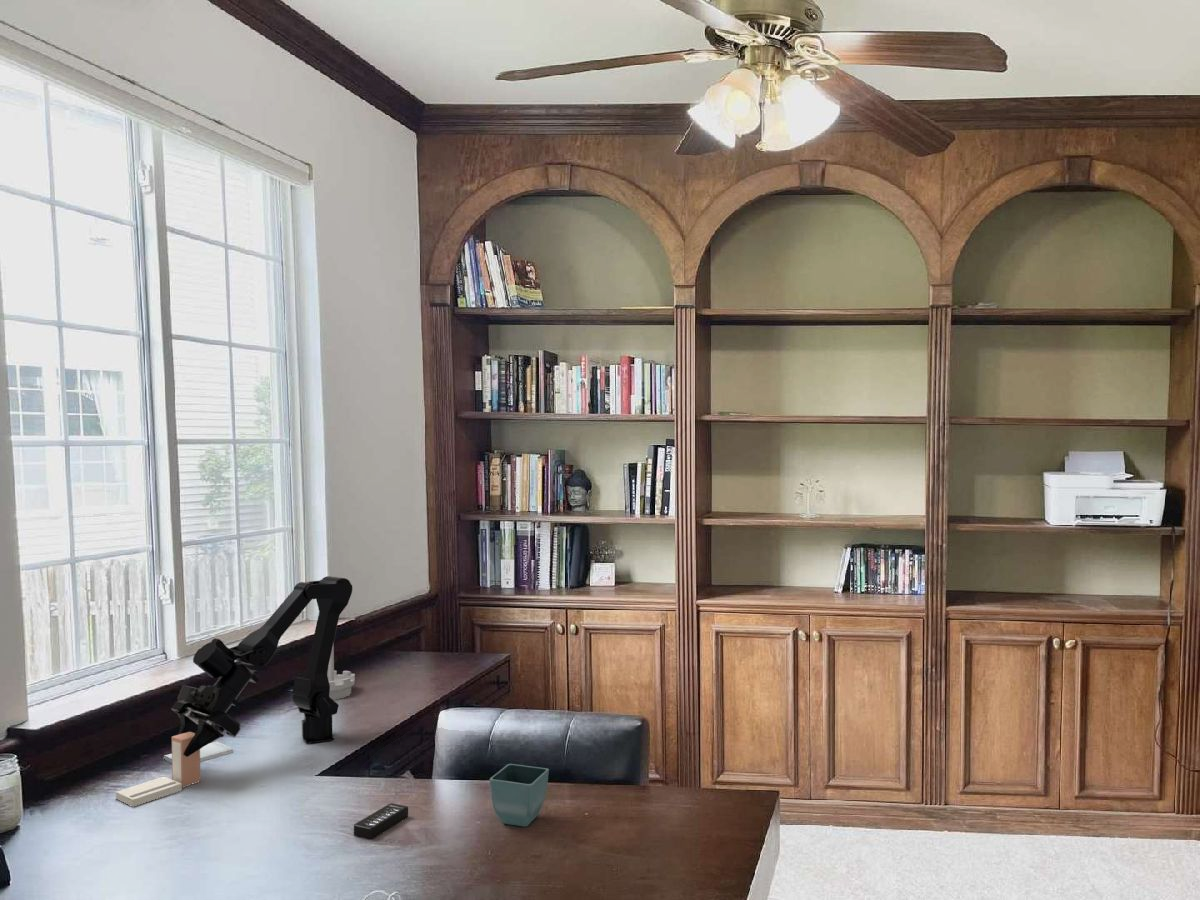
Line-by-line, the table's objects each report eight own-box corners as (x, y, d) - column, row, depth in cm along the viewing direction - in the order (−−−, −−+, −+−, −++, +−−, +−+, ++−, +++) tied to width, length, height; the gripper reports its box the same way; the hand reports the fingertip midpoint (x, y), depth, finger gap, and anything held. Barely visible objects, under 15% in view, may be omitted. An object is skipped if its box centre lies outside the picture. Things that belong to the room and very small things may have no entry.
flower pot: (550, 814, 171) (550, 767, 171) (532, 833, 163) (531, 784, 162) (509, 808, 174) (508, 763, 174) (488, 827, 165) (488, 779, 165)
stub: (190, 777, 192) (189, 731, 192) (200, 781, 190) (199, 734, 190) (171, 783, 189) (171, 736, 189) (182, 787, 186) (181, 740, 186)
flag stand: (320, 687, 262) (318, 586, 261) (362, 689, 260) (360, 586, 260) (299, 700, 249) (297, 594, 248) (343, 702, 247) (341, 594, 247)
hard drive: (179, 763, 198) (233, 747, 208) (163, 754, 203) (216, 740, 213) (179, 770, 198) (233, 754, 208) (163, 762, 203) (216, 747, 213)
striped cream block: (167, 782, 189) (166, 775, 189) (184, 789, 185) (184, 782, 185) (115, 799, 181) (115, 791, 181) (133, 807, 177) (132, 799, 177)
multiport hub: (352, 837, 163) (352, 824, 163) (390, 814, 173) (390, 802, 173) (371, 841, 161) (371, 828, 161) (409, 818, 171) (409, 806, 171)
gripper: (179, 663, 198) (129, 726, 189) (226, 675, 187) (176, 742, 178) (212, 690, 204) (166, 752, 195) (260, 703, 193) (213, 769, 184)
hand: (179, 753), depth 188 cm, fingers closed on stub, 4 cm apart
